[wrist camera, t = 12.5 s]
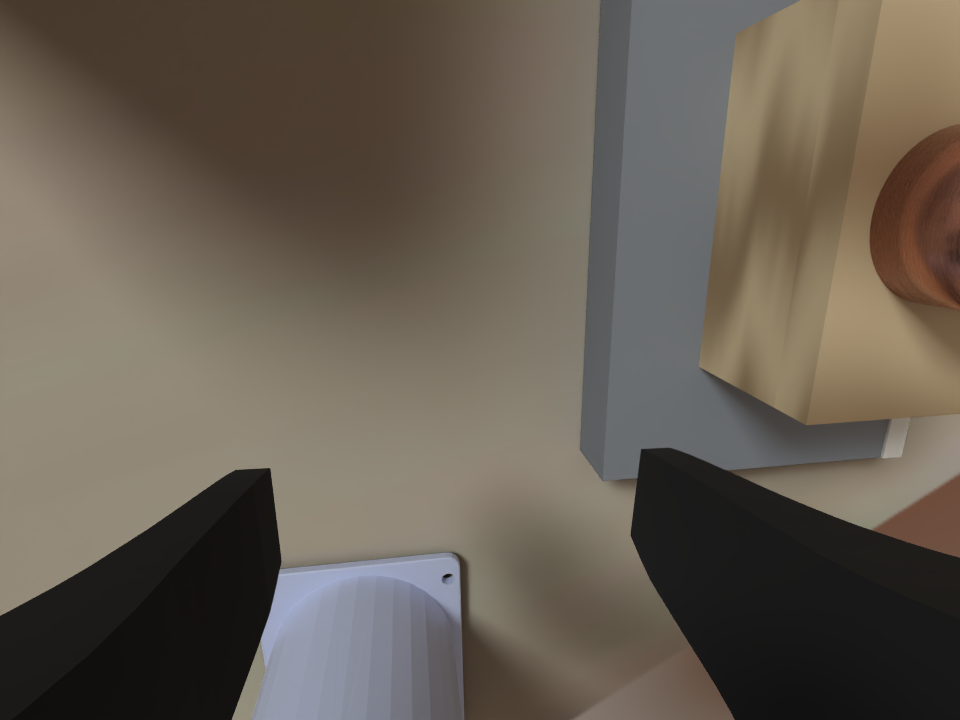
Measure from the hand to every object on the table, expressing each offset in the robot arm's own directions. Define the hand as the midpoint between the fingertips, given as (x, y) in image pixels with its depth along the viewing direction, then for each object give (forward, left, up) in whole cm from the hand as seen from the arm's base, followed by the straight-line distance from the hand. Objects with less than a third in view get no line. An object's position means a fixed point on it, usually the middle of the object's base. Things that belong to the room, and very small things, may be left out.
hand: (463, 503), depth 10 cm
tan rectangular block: (+5, -12, -7) cm, 15 cm away
